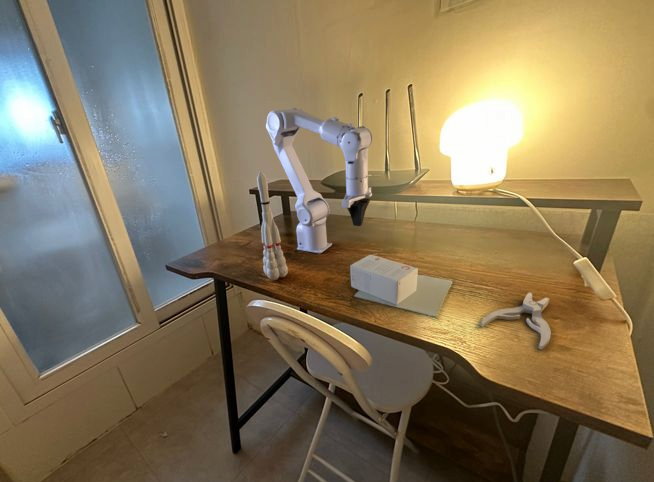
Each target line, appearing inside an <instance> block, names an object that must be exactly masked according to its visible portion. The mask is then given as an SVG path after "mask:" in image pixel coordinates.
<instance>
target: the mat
mask: <svg viewBox="0 0 654 482" xmlns="http://www.w3.org/2000/svg"><path fill="white" fill-rule="evenodd" d="M452 285H453V280H450V279H445V278H439V277H434V276H429V275H423V274H418V273H417V286H416V291H415V292H414V293H413V294H411V295H410V296H409V297H407V298H406V299H404V300H403V301H402V302H400V303H399V304H398V305H395V304H393V303H390V302H388V301H385V300H383V299H380V298H378V297H375V296H373V295H370V294H368V293H365V292H363V291H360V290H358V291H357V292H356V293H355V294H354V296H353V297H354V298H358V299H362V300H366V301H369V302H374V303H377V304H380V305H381V304H382V305H386V306H390V307H394V308H396V309H397V308H398V309H402V310H405V311H409V312H413V313H417V314H421V315H424V316H429V317H432V318H437V316H438V313H439V312H440V309H441V307H442V305H443V303H444V301H445V299H446V297H447V295H448V292H449V290H450V288H451V286H452Z"/></svg>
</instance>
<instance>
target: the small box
mask: <svg viewBox="0 0 654 482" xmlns="http://www.w3.org/2000/svg"><path fill="white" fill-rule="evenodd" d="M349 266H350V267H349V269H350V287H351V288H353V289H355V290H358V291H359V290H360V291H363V292H365V293H368V294H370V295H373V296H375V297H378V298H380V299H383V300H385V301H388V302H390V303H393V304H395V305H398V304H399V303H400V302H402V301H403V300H404V299H406V298H407V297H409V296H410V295H411V294H413V293H414V292H415V291H416V286H417V274H418V272H419V268H418V267H415V266H412V265H408V264H405V263H403V262H402V263H401V262H398V261H395V260H391V259H388V258H384V257H381V256H378V255H375V254H368V255H367V256H365V257H363V258H361V259H359V260H357V261H355V262H354V263H352V264H350V265H349Z"/></svg>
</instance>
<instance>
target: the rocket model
mask: <svg viewBox="0 0 654 482" xmlns="http://www.w3.org/2000/svg"><path fill="white" fill-rule="evenodd" d="M256 183H257V189H258V191H259V197H260V203H261V204H260V205H261V210H262V212H261V216H262V222H261V227H260V231H261V243H262V244H263V251H262V253H263V257H262V264H263V268H262V269H263V273H264V274H265V276H267V278H268V279H270V281H277V280H278V279H279V278H285V277H286V276H287V275H288V272H289V267H288V266H287V262H286V261H287V260H286V257H285V255H284V252H283V250H282V247H281V243H282V240H281V239H282V238H281V236H280V231H279V228H278V226H277V224H276V222H275V219H274V216H273V212H272V209H271V203H270V202H271V201H270V197H269V184H268V183H269V182H268V178H267V176H266V174H264V172H263V171H262V170H261V169H259V172H258V174H257V176H256Z"/></svg>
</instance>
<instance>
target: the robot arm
mask: <svg viewBox="0 0 654 482" xmlns="http://www.w3.org/2000/svg"><path fill="white" fill-rule="evenodd" d="M265 128H266V130H267V133H268V135H269V136H270V138H271V143H272V146H273V149H274V152H275V153H276V155H277V158H278V159H279V162H280V164H281V165H282V168H283V170H284V172H285V174H286V177H287V178H288V180H289V183H290V185H291V187H292V189H293V191H294V193H295V195H296V197H297V200H296V202H295V205H294V208H295V210H296V216H297V220H298V221H299V223H298V224H297V226H296V231H295V233H296V240H297V241H296V242H297V247H296V250H297V251H305V252H308V253H309V252H311V253H315V254H322V253H323V252H324V251H326V250H328V249H329V248H330V247H331V246H332V245H333V243H332V242H328V238H327V237H328V236H327V224H326V221H327V220H328V219H327V217H328V216H329V215H330V206H329V203H328V202H327V200H325V198H324V197H323V196H322V194H321V193H320V192H317V191H316V190H314V189H313V185H312V183H310V179H309V178H308V175H307V173H306V171H305V169H304V166H303V165H302V162H301V161H300V159H299V157H298V154H297V152H296V150H295V148H294V146H293V143H294V140H295V139H296V138H297V135H298V133H299V132H300V129H305V130H307V131H311V132H314V133H317V134H319V136H320V138H321V140H322V141H323V142H324V141H325V142H327V143H328V144H332V145H334V146H336V147H339V148H340V150H341V151H342V152H343V159H344V160H345V161H344V162H345V188H346V192H345V195H344V198H343V199H342V200H341V208H342V209H343V208H344V209H346V210H347V211H348V213H349V215H350V218H351V222H352V226H353V227H354V226H355V227H361V226H363V223H364V218H365V215H366V211H367V209H368V206H369V204H370V202H371V199H370V198H371V197H373V193H372V186H369V148H370V147H371V146H372V145H371V144H372V142H373V134H372V132H371V131H370V129H369V128H367V127H366V126H364V125H360V126H358V127H356V126H355V124H354V123H346V122H343V121H340V118H339V117H337V116H334V117H332V118H331V117H329V118H327V119H326V120H324V119H321V118H319V117H318V116H316V115H313V114H310V113H308V112H306V111H304V110H303V109H301V108H300V109H299V108H297V107H291V108H286V109H279V110H275V109H273V110H271V111H269V113H268V114H267V117H266V123H265Z"/></svg>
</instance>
